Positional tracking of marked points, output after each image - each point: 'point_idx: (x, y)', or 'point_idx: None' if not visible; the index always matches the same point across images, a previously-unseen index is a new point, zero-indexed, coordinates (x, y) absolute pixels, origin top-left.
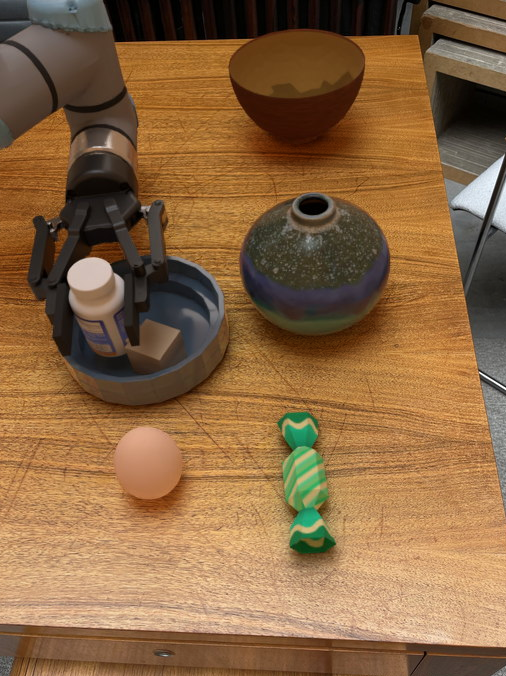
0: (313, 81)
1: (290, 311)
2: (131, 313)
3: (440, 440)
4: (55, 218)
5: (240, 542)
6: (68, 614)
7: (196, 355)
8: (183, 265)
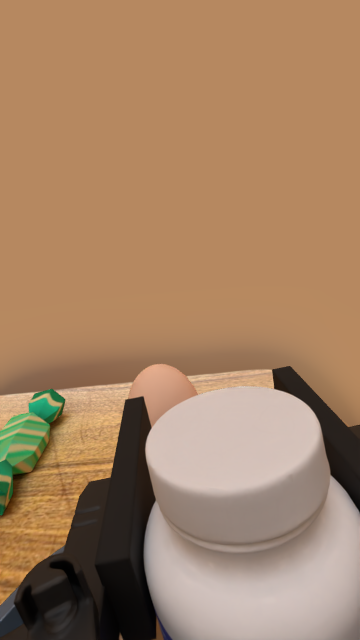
0: None
1: None
2: (123, 419)
3: None
4: None
5: (104, 418)
6: (234, 373)
7: (55, 553)
8: None
